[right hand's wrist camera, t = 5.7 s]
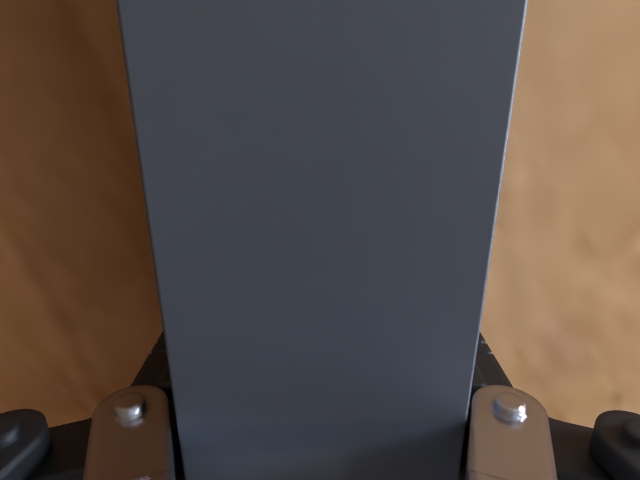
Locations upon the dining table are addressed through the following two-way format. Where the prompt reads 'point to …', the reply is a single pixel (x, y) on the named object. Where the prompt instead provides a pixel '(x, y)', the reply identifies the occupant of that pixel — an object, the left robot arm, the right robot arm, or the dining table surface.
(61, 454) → the right robot arm
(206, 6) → the bar
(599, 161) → the dining table surface
